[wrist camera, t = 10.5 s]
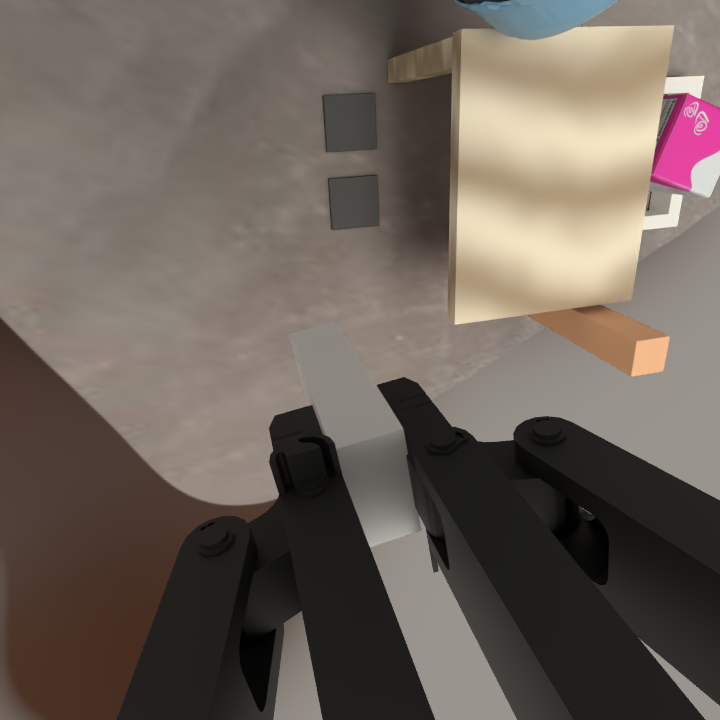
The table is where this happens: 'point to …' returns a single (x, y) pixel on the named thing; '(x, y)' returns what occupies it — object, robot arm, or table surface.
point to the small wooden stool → (546, 163)
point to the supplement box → (686, 147)
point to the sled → (611, 329)
